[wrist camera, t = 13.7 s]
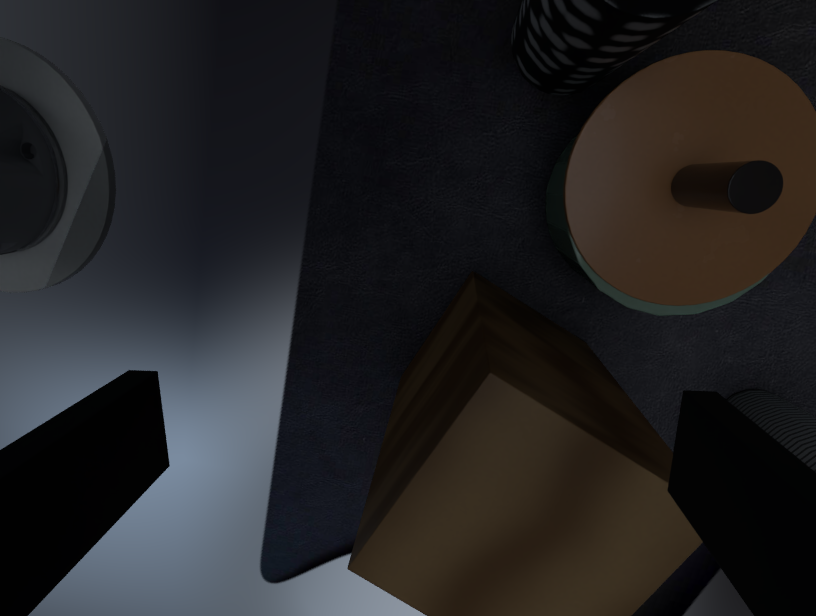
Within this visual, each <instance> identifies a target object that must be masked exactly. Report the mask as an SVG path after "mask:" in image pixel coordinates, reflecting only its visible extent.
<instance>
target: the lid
mask: <svg viewBox="0 0 816 616" xmlns="http://www.w3.org/2000/svg"><path fill="white" fill-rule="evenodd" d="M563 203H564V211H565V217H566V222H567V225H568V229H569V232H570V235H571V237H572V239H573V242H574V244H575V246H576V248H577V250H578V251H579V253H580V254H581V256H582V258H583V259H584V261H585V262H586V263H587V264H588V265H589V266H590V268H591V269H592V270H593V271H594V272H595V273H596V274H597V275H598V276H599V277H601V278H602V279H603V280H604V281H605V282H607V283H608V284H610V285H611V286H613V287H614V288H616V289H617V290H619V291H621V292H623V293H625V294H627V295H629V296H631V297H633V298H636V299H639V300H643V301H646V302H650V303H655V304H660V305H672V306H685V305H697V304H702V303H708V302H712V301H716V300H719V299H722V298H726V297H728V296H731V295H733V294H735V293H738V292H740V291H742V290H744V289H746V288H748V287H749V286H751V285H753V284H755V283H756V282H758V281H759V280H761V279H762V278H764V277H765V276H766V275H768V274H769V273H770V272H772V271H773V270H774V269H775V268H776V267H777V266H778V265H779V264H781V263H782V262H783V261H784V260H785V259H786V258H787V256H788V255H789V254H790V253H791V252H792V251H793V250H794V248H795V247H796V246H797V245H798V243H799V242H800V240H801V239H802V237H803V236H804V235H805V233H806V232H807V230H808V228H809V226H810V224H811V222H812V220H813V218H814V216H815V214H816V112H815V110H814V108H813V106H812V104H811V102H810V101H809V99H808V98H807V96H806V95H805V94H804V92H803V91H802V90H801V88H800V87H799V86H798V85H797V84H796V83H795V82H794V81H793V80H792V79H791V78H790V77H789V76H787V75H786V74H784V73H783V72H782V71H780V70H779V69H777V68H776V67H774V66H772V65H770V64H768V63H766V62H764V61H762V60H760V59H758V58H755V57H752V56H749V55H746V54H743V53H737V52H731V51H723V50H703V51H694V52H687V53H683V54H679V55H675V56H671V57H668V58H666V59H663V60H661V61H658V62H655V63H653V64H651V65H649V66H647V67H645V68H644V69H642V70H640V71H638V72H636V73H634V74H633V75H632V76H630V77H629V78H627V79H626V80H624V81H623V82H622V83H620V84H619V85H618V86H617V87H615V88H614V89H613V90H612V91H611V92H610V93H609V94H608V95H606V96H605V98H604V99H603V100H602V101H601V102H600V103H599V104H598V105H597V107H596V108H595V109H594V110H593V111H592V113H591V114H590V116H589V117H588V119H587V120H586V122H585V123H584V124H583V126H582V128H581V130H580V132H579V134H578V136H577V138H576V139H575V142H574V145H573V147H572V150H571V152H570V155H569V159H568V163H567V167H566V171H565V178H564V186H563Z"/></svg>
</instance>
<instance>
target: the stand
mask: <svg viewBox="0 0 816 616" xmlns="http://www.w3.org/2000/svg"><path fill="white" fill-rule="evenodd" d="M672 458H673V452H672V451H671V450H670V448H669V447H668V446H667V445H666V443H665V442H664V441H663V440H662V438H661V437H660V436H659V434H658V433H657V432H656V431H655V429H654V428H653V427H652V426H651V424H650V423H649V422H648V421H647V419H646V418H645V417H644V415H643V414H642V413H641V412H640V410H639V409H638V408H637V407H636V405H635V404H634V403H633V402H632V400H631V399H630V398H629V397H628V395H627V394H626V393H625V391H624V390H623V389H622V388H621V386H620V385H619V384H618V383H617V381H616V380H615V379H614V378H613V376H612V375H611V374H610V372H609V371H608V370H607V369H606V367H605V366H604V365H603V364H602V362H601V361H600V360H599V359H598V357H597V356H596V355H595V353H594V352H593V351H592V350H591V348H590V347H589V346H588V345H587V343H586V342H584V341H582V340H581V339H579V338H578V337H576V336H575V335H573V334H571V333H570V332H568V331H567V330H565V329H564V328H562V327H560V326H559V325H557V324H556V323H554V322H553V321H551V320H549V319H548V318H546V317H545V316H543V315H542V314H540V313H538V312H537V311H535V310H534V309H532V308H531V307H529V306H527V305H526V304H524V303H523V302H521V301H520V300H518V299H516V298H515V297H513V296H512V295H510V294H508V293H507V292H505V291H504V290H502V289H501V288H499V287H497V286H496V285H494V284H493V283H491V282H490V281H488V280H486V279H485V278H483V277H482V276H480V275H479V274H477V273H475V272H474V271H472V272H471V273H470V275H469V276H468V278H467V279H466V281H465V282H464V284H463V285H462V287H461V288H460V290H459V291H458V293H457V294H456V296H455V297H454V299H453V300H452V302H451V303H450V305H449V306H448V308H447V309H446V311H445V312H444V314H443V315H442V317H441V318H440V320H439V321H438V323H437V324H436V326H435V327H434V329H433V330H432V332H431V333H430V335H429V336H428V338H427V339H426V341H425V342H424V344H423V345H422V347H421V348H420V350H419V351H418V352H417V354H416V355H415V357H414V358H413V360H412V361H411V363H410V364H409V366H408V367H407V369H406V370H405V372H404V373H403V375H402V376H401V379H400V382H399V386H398V389H397V393H396V397H395V400H394V404H393V407H392V411H391V414H390V418H389V422H388V425H387V429H386V432H385V436H384V439H383V443H382V447H381V450H380V454H379V457H378V461H377V464H376V468H375V472H374V475H373V479H372V482H371V486H370V489H369V493H368V497H367V500H366V504H365V507H364V511H363V514H362V518H361V522H360V525H359V529H358V532H357V536H356V539H355V543H354V547H353V550H352V554H351V557H350V561H349V565H348V570H350V571H352V572H354V573H355V574H357V575H359V576H360V577H362V578H364V579H365V580H367V581H369V582H370V583H372V584H374V585H376V586H377V587H379V588H381V589H382V590H384V591H386V592H388V593H389V594H391V595H393V596H394V597H396V598H398V599H399V600H401V601H403V602H404V603H406V604H408V605H410V606H411V607H413V608H415V609H416V610H418V611H420V612H422V613H423V614H425V615H427V616H631V615H632V614H633V613H634V612H635V611H636V610H637V609H638V608H639V607H640V606H641V605H642V604H643V603H644V602H645V601H646V600H647V599H648V598H649V597H650V596H651V595H652V594H653V593H654V592H655V591H656V590H657V589H658V588H659V587H660V586H661V584H662V583H663V582H664V581H665V580H666V579H667V578H668V577H669V576H670V575H671V574H672V573H673V572H674V571H675V570H676V569H677V568H678V567H679V566H680V565H681V564H682V563H683V562H684V561H685V560H686V559H687V558H688V557H689V556H690V555H691V554H692V553H693V552H694V551H695V550H696V548H697V547H698V546H699V545H700V544H701V543H702V542H703V541H702V540H701V539H700V537H699V536H698V534H697V533H696V531H695V530H694V528H693V527H692V526H691V524H690V523H689V521H688V520H687V518H686V517H685V516H684V514H683V513H682V511H681V510H680V508H679V507H678V505H677V504H676V503H675V501H674V500H673V498H672V497H671V495H670V494H669V492H668V491H667V490H668V483H669V477H670V471H671V465H672Z"/></svg>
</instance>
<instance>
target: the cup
mask: <svg viewBox="0 0 816 616" xmlns="http://www.w3.org/2000/svg"><path fill="white" fill-rule="evenodd" d="M727 401H728V402H730V403H731V404H732V405H733V406H735V407H736V408H737V409H738V410H739V411H741V412H742V413H743V414H744V415H746V416H747V417H748V418H749V419H751V420H752V421H753V422H754V423H756V424H757V425H758V426H759V427H760V428H762V429H763V430H764V431H765V432H767V433H768V434H769V435H770V436H772V437H773V438H774V439H775V440H777V441H778V442H779V443H780V444H781V445H783V446H784V447H785V448H786V449H788V450H789V451H790V452H791V453H793V454H794V455H795V456H796V457H797V458H799V459H800V460H801V461H802V462H804V463H805V464H806V465H807V466H809V467H810V468H811V469H812V470H814V471H815V472H816V416H814V415H812V414H811V413H809V412H807V411H805V410H803V409H801V408H799V407H797V406H795V405H793V404H791V403H790V402H788V401H786V400H784V399H782V398H780V397H778V396H776V395H774V394H771V393H769V392H766V391H763V390H746V391H743V392H740V393H738V394H735V395H733V396H731V397H730V398H729V399H728V400H727Z"/></svg>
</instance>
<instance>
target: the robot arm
mask: <svg viewBox="0 0 816 616" xmlns="http://www.w3.org/2000/svg"><path fill="white" fill-rule="evenodd" d="M67 193H68V176H67V169H66V164H65V160H64V156H63V153H62V150H61V148H60V145H59V143H58V140H57V139H56V137H55V135H54V133H53V131H52V130H51V128H50V126H49V125H48V123H47V122H46V121H45V119H44V118H43V117H42V116H41V115H40V113H39V112H38V111H37V110H36V109H35V108H34V107H33V106H32V105H31V104H30V103H28V102H27V101H26V100H25V99H24V98H22V97H21V96H19V95H18V94H16V93H15V92H13V91H11V90H9V89H7V88H5V87H3V86H1V85H0V255H2V254H8V253H14V252H20V251H24V250H27V249H29V248H32V247H34V246H36V245H37V244H39V243H41V242H42V241H43V240H45V239H46V238H47V237H48V236H49V235H50V234H51V233H52V231H53V230H54V229H55V228H56V226H57V224H58V223H59V221H60V219H61V217H62V215H63V212H64V209H65V205H66V201H67ZM168 467H169V458H168V450H167V442H166V434H165V426H164V418H163V411H162V403H161V395H160V387H159V380H158V372H157V371H136V370H134V371H133V370H129V371H127V372H126V373H124V374H122V375H121V376H119V377H117V378H116V379H114V380H113V381H111V382H109V383H108V384H106V385H105V386H103V387H101V388H100V389H98V390H96V391H95V392H93V393H92V394H90V395H88V396H87V397H85V398H83V399H82V400H80V401H79V402H77V403H75V404H74V405H72V406H71V407H69V408H67V409H66V410H64V411H63V412H61V413H59V414H58V415H56V416H54V417H53V418H51V419H50V420H48V421H46V422H45V423H43V424H42V425H40V426H38V427H37V428H35V429H34V430H32V431H30V432H29V433H27V434H25V435H24V436H22V437H21V438H19V439H18V440H16V441H14V442H13V443H11V444H9V445H8V446H6V447H5V448H3V449H1V450H0V616H28V615H29V614H30V613H31V612H32V611H33V610H34V609H35V607H36V606H37V605H38V604H39V603H40V602H41V601H42V600H43V599H44V598H45V597H46V596H47V595H48V594H49V593H50V592H51V591H52V590H53V588H54V587H55V586H56V585H57V584H58V583H59V582H60V581H61V580H62V579H63V578H64V577H65V576H66V575H67V574H68V572H70V570H71V569H72V568H73V567H74V566H75V565H76V564H77V563H78V562H79V561H80V560H81V559H82V558H83V557H84V556H85V555H86V554H87V552H88V551H89V550H90V549H91V548H92V547H93V546H94V545H95V544H96V543H97V542H98V541H99V540H100V539H101V538H102V537H103V535H105V534H106V532H107V531H108V530H109V529H110V528H111V527H112V526H113V525H114V524H115V523H116V522H117V521H118V520H119V519H120V518H121V517H122V516H123V515H124V513H125V512H126V511H127V510H128V509H129V508H130V507H131V506H132V505H133V504H134V503H135V502H136V501H137V500H138V499H139V498H140V497H141V496H142V494H143V493H144V492H145V491H146V490H147V489H148V488H149V487H150V486H151V485H152V484H153V483H154V482H155V480H157V478H159V476H160V475H161V474H162V473H163V472H164V471H165V470H166V469H167V468H168ZM667 491H668V492H669V494H670V495H671V497H672V498H673V500H674V501H675V503H676V504H677V505H678V507H679V508H680V510H681V511H682V513H683V514H684V516H685V517H686V518H687V520H688V521H689V523H690V524H691V526H692V527H693V528H694V530H695V531H696V533H697V534H698V536H699V537H700V539H701V540H702V541H703V543H704V544H705V546H706V547H707V549H708V550H709V551H710V553H711V554H712V556H713V557H714V559H715V560H716V562H717V563H718V564H719V566H720V567H721V569H722V570H723V572H724V573H725V574H726V576H727V577H728V579H729V580H730V582H731V583H732V585H733V586H734V587H735V589H736V590H737V592H738V593H739V595H740V596H741V598H742V599H743V600H744V602H745V603H746V605H747V606H748V608H749V609H750V610H751V612H752V613H753V615H754V616H816V472H815V471H814V470H812V469H811V468H810V467H809V466H807V465H806V464H805V463H804V462H802V461H801V460H800V459H799V458H797V457H796V456H795V455H794V454H793V453H791V452H790V451H789V450H788V449H786V448H785V447H784V446H783V445H781V444H780V443H779V442H778V441H777V440H775V439H774V438H773V437H772V436H770V435H769V434H768V433H767V432H765V431H764V430H763V429H762V428H760V427H759V426H758V425H757V424H756V423H754V422H753V421H752V420H751V419H749V418H748V417H747V416H746V415H744V414H743V413H742V412H741V411H739V410H738V409H737V408H736V407H735V406H733V405H732V404H731V403H730V402H728V401H727V400H726V399H725V398H723V397H722V396H721V395H720V394H718V393H717V392H708V391H683V396H682V402H681V408H680V415H679V421H678V427H677V433H676V440H675V446H674V452H673V458H672V465H671V471H670V477H669V483H668V490H667Z"/></svg>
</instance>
